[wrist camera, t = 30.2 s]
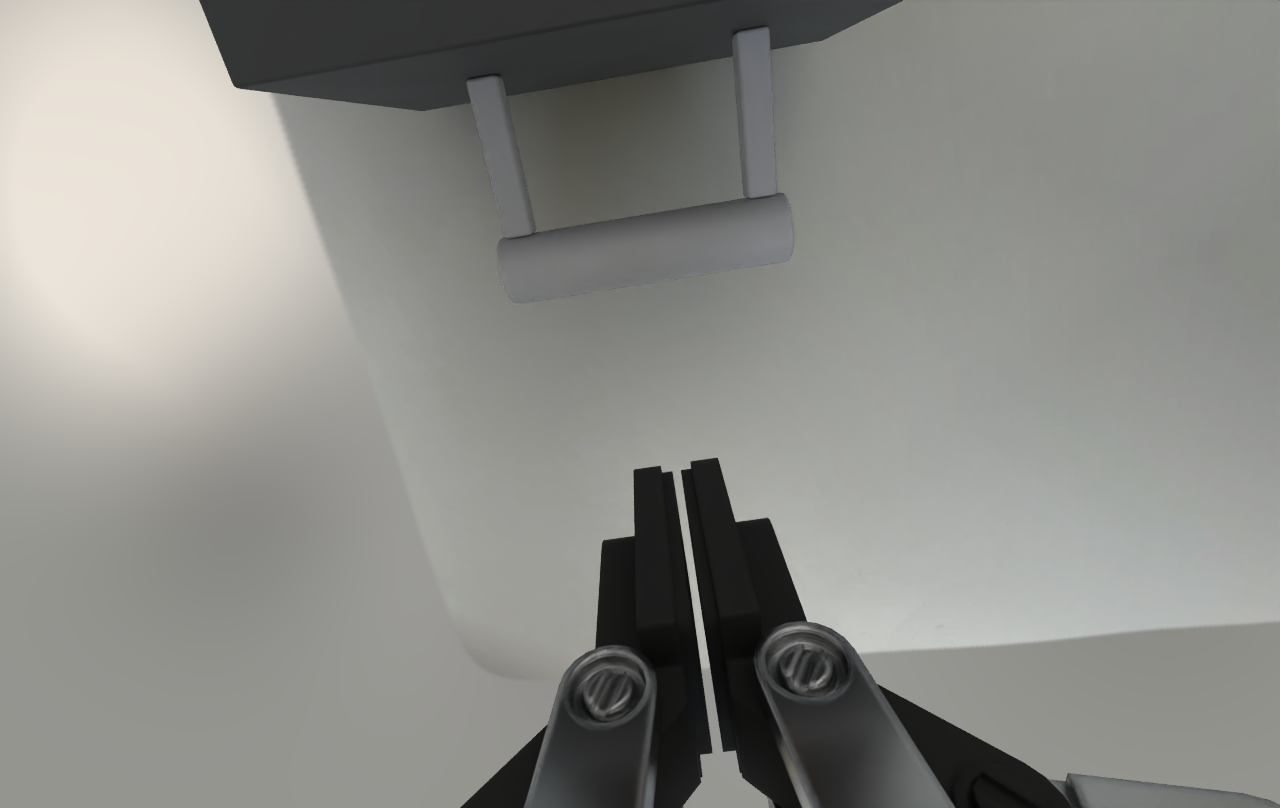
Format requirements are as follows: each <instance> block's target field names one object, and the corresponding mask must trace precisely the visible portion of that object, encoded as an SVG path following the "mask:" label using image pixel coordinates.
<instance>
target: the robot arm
mask: <svg viewBox="0 0 1280 808" xmlns="http://www.w3.org/2000/svg"><path fill="white" fill-rule="evenodd" d="M681 474H682V481H683V488H684V495H685V502H686V509H687V515H688V522H689V529H690V536H691V543H692V550H693V557H694V564H695V570H696V577H697V584H698V591H699V597H700V604H701V610H702V617H703V623H704V630H705V636H706V643H707V649H708V656H709V662H710V669H711V675H712V681H713V688H714V694H715V701H716V707H717V714H718V721H719V728H720V734H721V741H722V747H723V752H726V751H735V750H736V753H737V759H738V764H739V770H740V773H742V777H743V778H744V779H745V780H746V781H748V782H749V783H750V784H752V785H753V786H754V787H755V788H757V789H758V790H759V791H761V792H762V793H763V794H765V795H766V796H767V798H768V803H769V808H1280V805H1279V804H1277V803H1275V802H1273V801H1271V800H1268V799H1263V798H1259V797H1256V796H1252V795H1248V794H1244V793H1236V792H1228V791H1219V790H1210V789H1201V788H1193V787H1184V786H1176V785H1167V784H1158V783H1149V782H1141V781H1132V780H1123V779H1114V778H1106V777H1097V776H1088V775H1079V774H1071V773H1068V775H1067V778H1066V781H1058V780H1049V779H1047V778H1046V777H1044V776H1043V775H1042V774H1040V773H1039V772H1037V771H1036V770H1034V769H1033V768H1031V767H1030V766H1028V765H1027V764H1025V763H1023V762H1022V761H1020V760H1018V759H1016V758H1014V757H1012V756H1010V755H1008V754H1007V753H1005V752H1003V751H1001V750H999V749H997V748H995V747H994V746H991V745H990V744H988V743H986V742H984V741H982V740H980V739H978V738H977V737H975V736H973V735H971V734H969V733H967V732H966V731H964V730H962V729H960V728H958V727H956V726H954V725H953V724H951V723H949V722H947V721H945V720H943V719H941V718H939V717H937V716H936V715H934V714H932V713H930V712H928V711H926V710H924V709H923V708H921V707H919V706H917V705H915V704H913V703H912V702H910V701H908V700H906V699H904V698H902V697H900V696H898V695H897V694H895V693H893V692H891V691H889V690H887V689H885V688H883V687H882V686H880V685H878V684H876V682H875V681H874V679H873V677H872V676H871V674H870V673H869V671H868V670H867V668H866V666H865V665H864V663H863V662H862V660H861V659H860V657H859V655H858V654H857V652H856V651H855V649H854V648H853V647H852V646H851V644H850V643H849V642H848V641H847V640H846V639H845V638H844V637H843V636H842V635H840V634H839V633H837V632H836V631H834V630H833V629H831V628H828V627H826V626H823V625H820V624H817V623H811V622H807V620H806V617H805V614H804V611H803V609H802V606H801V603H800V600H799V598H798V595H797V592H796V589H795V587H794V584H793V581H792V578H791V576H790V573H789V570H788V568H787V565H786V562H785V559H784V557H783V554H782V551H781V548H780V546H779V543H778V540H777V537H776V535H775V532H774V529H773V526H772V524H771V522H770V520H769V519H768V518H763V519H756V520H749V521H741V522H735V519H734V515H733V511H732V508H731V504H730V500H729V497H728V493H727V489H726V486H725V482H724V479H723V475H722V471H721V468H720V464H719V460H718V458H712V459H705V460H698V461H691V469H686V470H681ZM634 524H635V536H632V537H624V538H617V539H610V540H604V541H603V542H602V551H601V567H600V583H599V599H598V615H597V631H596V647H595V649H594V650H591V651H589V652H587V653H585V654H584V655H582V656H581V657H580V658H578V659H577V660H575V661H574V662H573V664H572V665H571V666H570V667H569V668H568V669H567V671H566V672H565V673H564V676H563V678H562V680H561V683H560V684H559V687H558V691H557V694H556V698H555V701H554V705H553V708H552V712H551V715H550V719H549V722H548V725H546V726H545V727H544V728H543V729H542V730H541V731H540V732H539V733H538V734H537V735H536V736H535V737H534V738H533V739H532V740H531V741H530V742H529V743H528V744H527V745H526V746H524V747H523V748H522V749H521V750H520V751H519V752H518V753H517V754H516V755H515V756H514V757H513V758H512V759H511V760H510V761H509V762H508V763H507V764H506V765H505V766H504V767H502V768H501V769H500V770H499V771H498V772H497V773H496V774H495V775H494V776H493V777H492V778H491V779H490V780H489V781H488V782H487V783H486V784H485V785H484V786H483V787H482V788H480V789H479V790H478V791H477V792H476V793H475V794H474V795H473V796H472V797H471V798H470V799H469V800H468V801H467V802H466V803H465V804H464V805H463V806H462V807H461V808H683V805H684V804H685V802H686V801H687V800H688V798H689V797H690V796H691V795H692V793H693V792H694V791H695V789H696V788H697V787H698V786H699V784H700V783H701V778H700V777H702V769H701V761H700V755H701V754H709V753H712V745H711V738H710V731H709V723H708V716H707V710H706V702H705V694H704V686H703V679H702V672H701V664H700V657H699V650H698V642H697V635H696V628H695V620H694V613H693V606H692V598H691V591H690V584H689V577H688V571H687V564H686V558H685V551H684V544H683V538H682V531H681V525H680V518H679V512H678V505H677V499H676V492H675V486H674V479H673V473H672V472H665V473H662V470H661V466H656V467H649V468H642V469H635V470H634Z"/></svg>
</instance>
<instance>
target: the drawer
mask: <svg viewBox="0 0 1280 808" xmlns="http://www.w3.org/2000/svg"><path fill="white" fill-rule="evenodd" d="M199 1H200V3H201V6H202V8H203V11H204V13H205V16H206V18H207V21H208V23H209V26H210V28H211V31H212V33H213V36H214V38H215V41H216V43H217V45H218V48H219V51H220V53H221V55H222V58H223V61H224V63H225V66H226V68H227V71H228V73H229V76H230V78H231V81H232V83H233V85H234V86H235V87H236V88H240V89H247V90H255V91H263V92H272V93H280V94H288V95H296V96H304V97H312V98H320V99H328V100H336V101H345V102H353V103H361V104H369V105H377V106H385V107H393V108H401V109H409V110H417V111H426V110H432V109H437V108H443V107H449V106H454V105H460V104H466V103H471V104H472V108H473V112H474V116H475V120H476V124H477V128H478V132H479V136H480V140H481V144H482V148H483V152H484V156H485V160H486V164H487V168H488V172H489V176H490V180H491V184H492V188H493V192H494V196H495V200H496V204H497V208H498V212H499V217H500V221H501V225H502V229H503V233H504V236H505V237H506V238H502V239H500V240H499V241H498V245H497V262H498V269H499V274H500V278H501V282H502V285H503V288H504V291H505V293H506V295H507V297H508V299H509V300H510V302H511V303H513V304H522V303H528V302H534V301H541V300H547V299H553V298H559V297H566V296H572V295H578V294H585V293H591V292H597V291H604V290H610V289H616V288H623V287H629V286H635V285H641V284H648V283H654V282H660V281H667V280H673V279H679V278H686V277H692V276H698V275H704V274H711V273H717V272H723V271H730V270H736V269H742V268H749V267H755V266H761V265H767V264H774V263H780V262H786V261H787V260H789V259H790V258H791V255H792V251H793V245H794V226H793V217H792V212H791V207H790V204H789V201H788V199H787V197H786V195H785V194H784V193H777V176H776V156H775V136H774V116H773V96H772V75H771V55H770V50H771V49H777V48H783V47H788V46H794V45H800V44H805V43H811V42H817V41H822V40H824V39H826V38H828V37H830V36H832V35H834V34H836V33H838V32H840V31H842V30H844V29H846V28H848V27H850V26H852V25H854V24H856V23H858V22H860V21H863V20H865V19H867V18H869V17H871V16H873V15H875V14H877V13H879V12H881V11H883V10H885V9H887V8H889V7H891V6H893V5H895V4H897V3H899V2H901V1H903V0H199ZM732 56H733V61H734V74H735V88H736V101H737V115H738V129H739V142H740V156H741V169H742V183H743V194H744V196H746V197H748V198H743V199H737V200H731V201H725V202H719V203H712V204H706V205H700V206H694V207H688V208H682V209H676V210H670V211H664V212H658V213H652V214H646V215H640V216H633V217H627V218H621V219H615V220H609V221H603V222H597V223H591V224H585V225H579V226H573V227H567V228H561V229H555V230H548V231H542V232H536V233H534V232H535V231H536V225H535V221H534V216H533V212H532V207H531V203H530V198H529V194H528V189H527V185H526V180H525V176H524V172H523V167H522V163H521V158H520V154H519V149H518V145H517V140H516V136H515V131H514V127H513V123H512V118H511V114H510V109H509V105H508V100H507V96H511V95H517V94H522V93H528V92H534V91H539V90H545V89H551V88H556V87H562V86H568V85H573V84H579V83H585V82H590V81H596V80H602V79H607V78H613V77H619V76H624V75H630V74H635V73H641V72H647V71H652V70H658V69H664V68H669V67H675V66H681V65H686V64H692V63H698V62H703V61H709V60H715V59H720V58H726V57H732Z"/></svg>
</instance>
